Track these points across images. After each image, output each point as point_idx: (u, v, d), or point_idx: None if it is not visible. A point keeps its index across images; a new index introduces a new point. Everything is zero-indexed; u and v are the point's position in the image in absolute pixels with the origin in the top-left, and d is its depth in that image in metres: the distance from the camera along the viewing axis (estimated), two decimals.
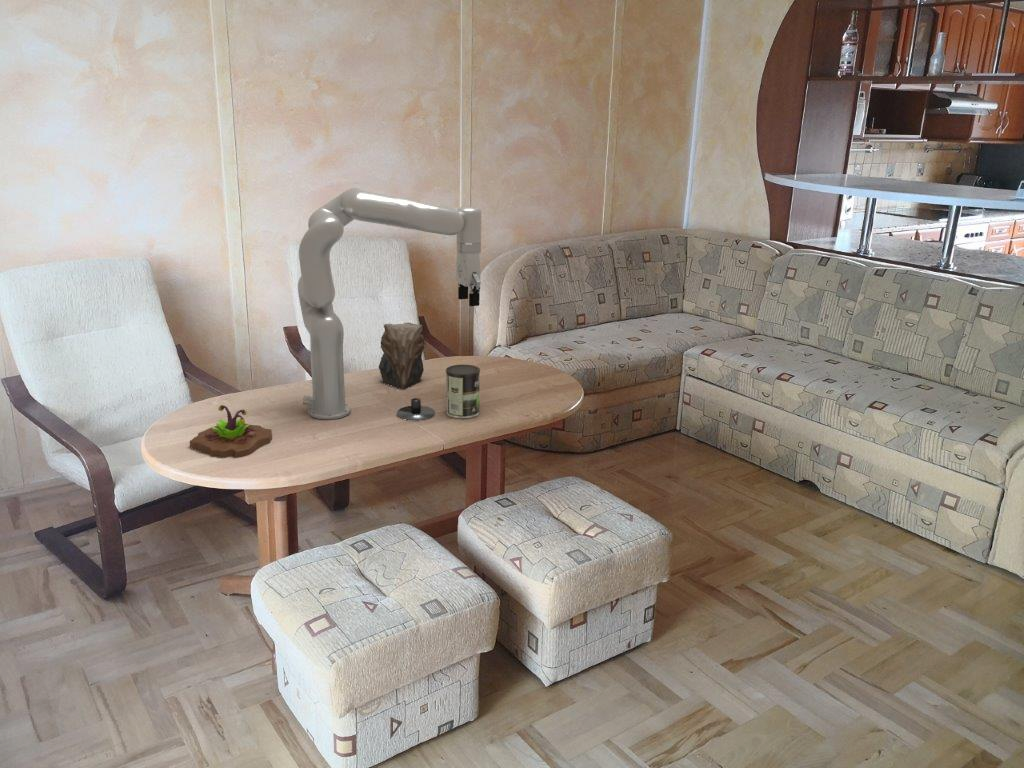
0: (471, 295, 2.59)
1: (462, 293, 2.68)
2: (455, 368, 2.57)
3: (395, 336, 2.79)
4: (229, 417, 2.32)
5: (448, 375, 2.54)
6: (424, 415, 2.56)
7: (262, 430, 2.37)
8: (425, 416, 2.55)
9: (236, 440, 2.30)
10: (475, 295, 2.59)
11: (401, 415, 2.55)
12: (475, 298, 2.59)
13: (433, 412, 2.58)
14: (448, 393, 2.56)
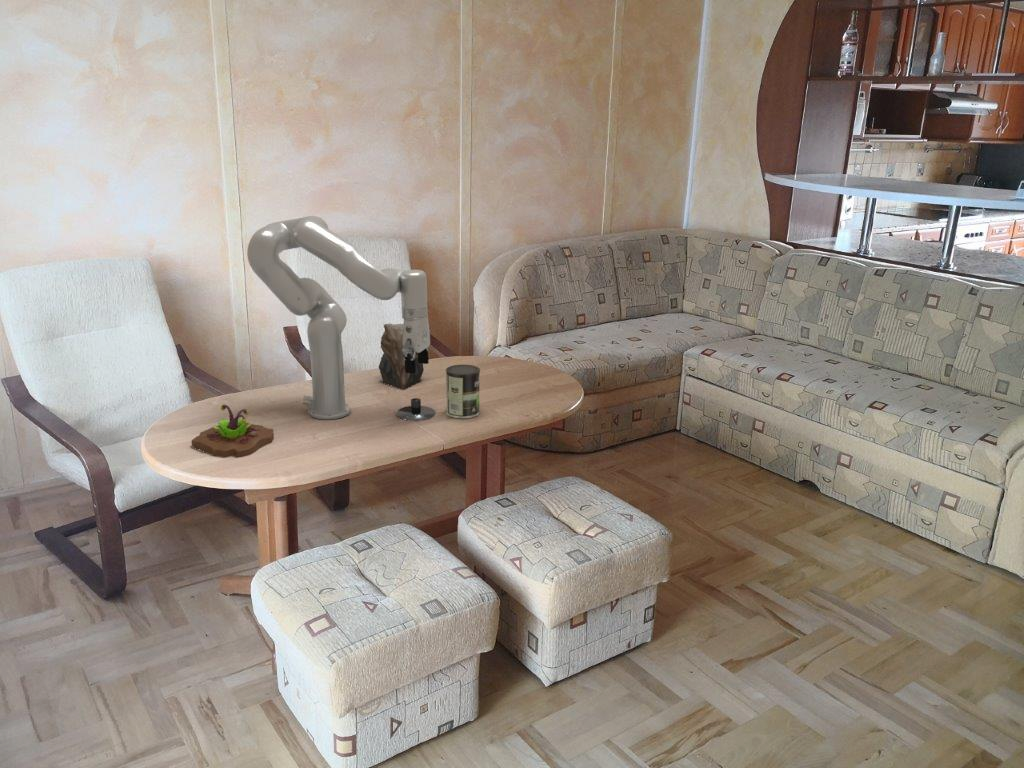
0: None
1: None
2: (455, 368, 2.57)
3: (395, 336, 2.79)
4: (231, 417, 2.32)
5: (448, 375, 2.54)
6: (424, 415, 2.56)
7: (264, 430, 2.37)
8: (425, 416, 2.55)
9: (238, 440, 2.30)
10: None
11: (401, 415, 2.55)
12: None
13: (433, 412, 2.58)
14: (448, 393, 2.56)
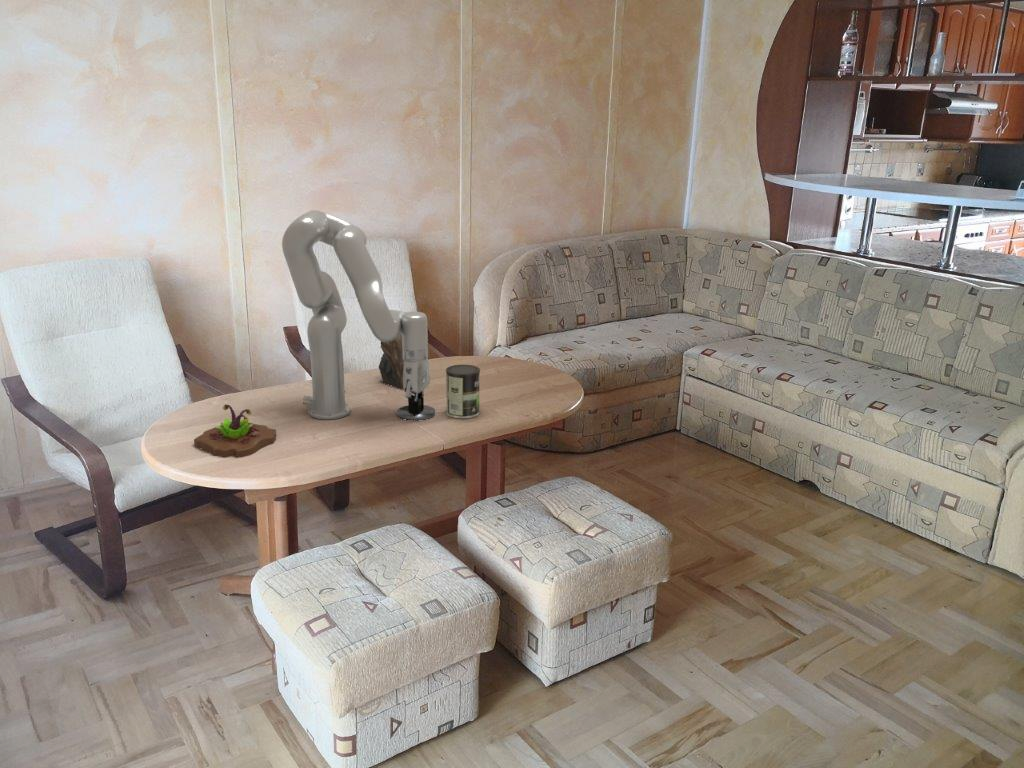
0: None
1: None
2: (455, 368, 2.57)
3: None
4: (233, 416, 2.32)
5: (448, 375, 2.54)
6: (424, 414, 2.55)
7: (266, 430, 2.37)
8: (425, 415, 2.55)
9: (239, 440, 2.30)
10: None
11: (401, 414, 2.55)
12: None
13: (433, 411, 2.58)
14: (448, 393, 2.56)
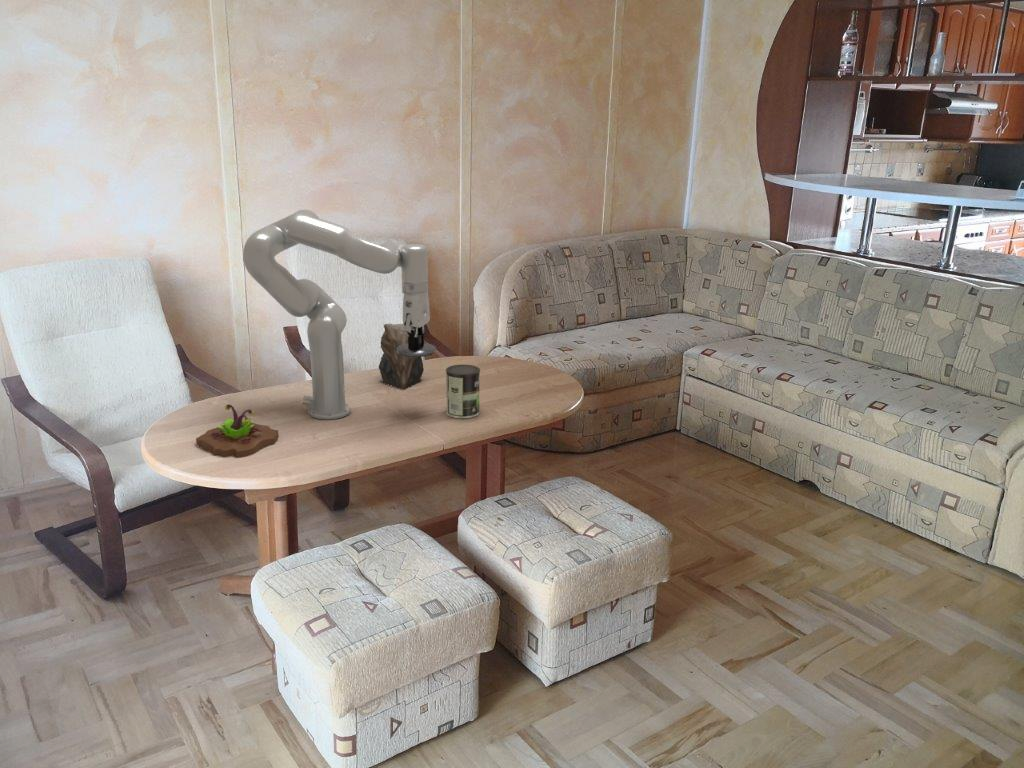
0: None
1: None
2: (455, 368, 2.57)
3: (395, 336, 2.79)
4: (235, 416, 2.32)
5: (448, 375, 2.54)
6: (424, 351, 2.49)
7: (268, 431, 2.37)
8: (426, 351, 2.49)
9: (240, 440, 2.30)
10: None
11: (401, 350, 2.49)
12: None
13: (434, 348, 2.52)
14: (448, 393, 2.56)
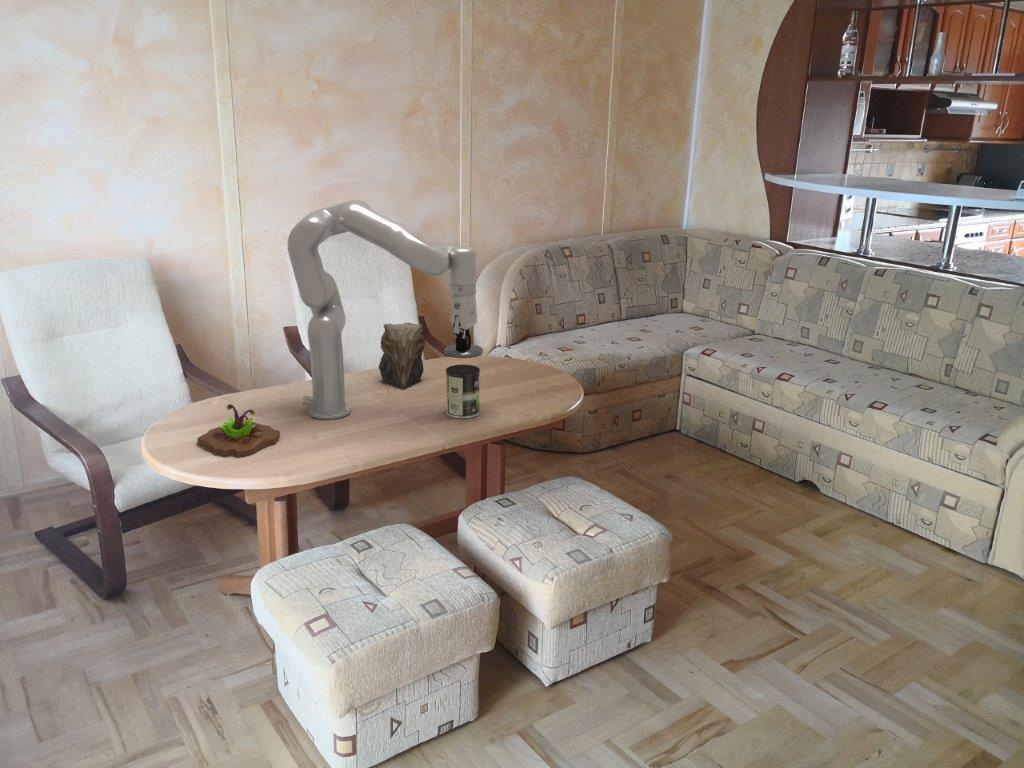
0: None
1: None
2: (455, 368, 2.57)
3: (395, 336, 2.79)
4: (236, 416, 2.32)
5: (448, 375, 2.54)
6: (472, 352, 2.51)
7: (269, 431, 2.37)
8: (473, 352, 2.51)
9: (240, 440, 2.30)
10: None
11: (449, 351, 2.51)
12: None
13: (481, 349, 2.54)
14: (448, 393, 2.56)
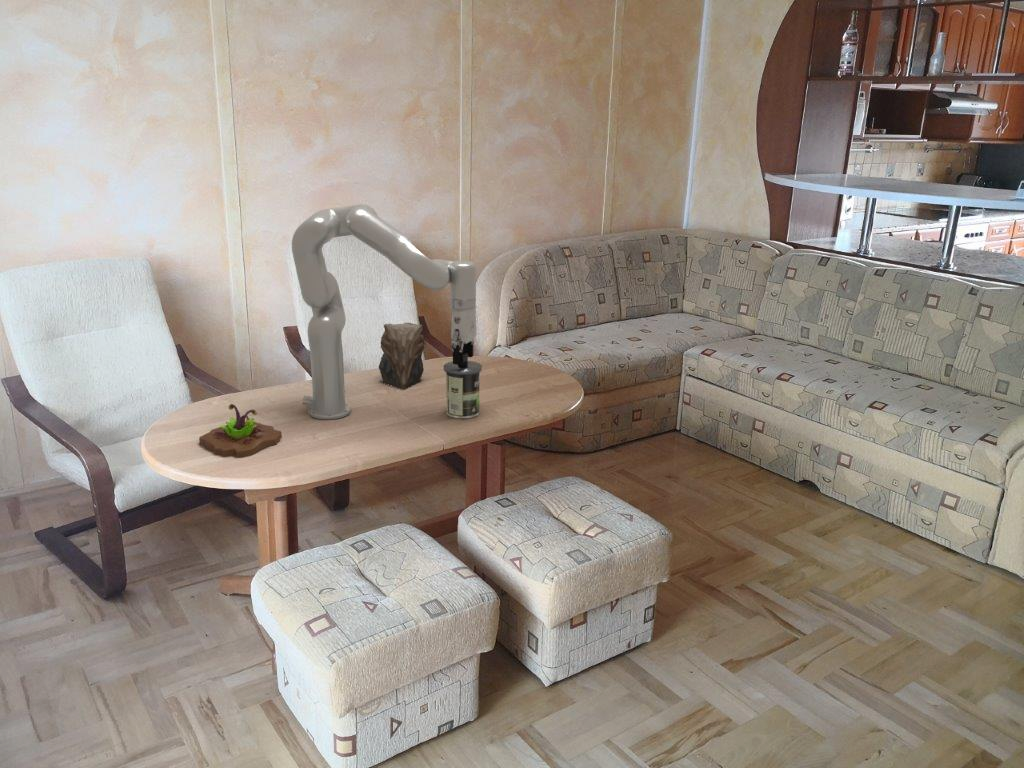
0: None
1: None
2: None
3: (395, 336, 2.79)
4: (237, 416, 2.32)
5: (448, 375, 2.54)
6: (471, 369, 2.53)
7: (271, 431, 2.36)
8: (473, 369, 2.52)
9: (241, 440, 2.30)
10: None
11: (448, 369, 2.53)
12: None
13: (480, 366, 2.56)
14: (448, 393, 2.56)
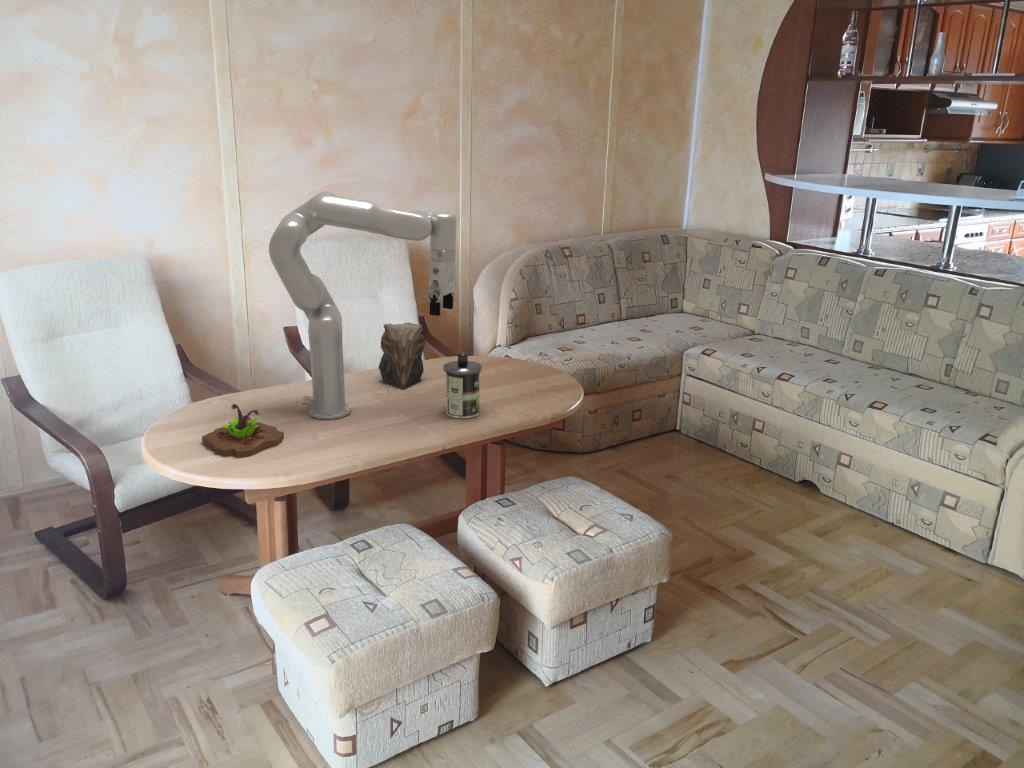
0: None
1: None
2: None
3: (395, 336, 2.79)
4: (239, 416, 2.32)
5: (448, 375, 2.54)
6: (471, 369, 2.53)
7: (273, 432, 2.36)
8: (473, 369, 2.52)
9: (242, 440, 2.30)
10: None
11: (448, 369, 2.53)
12: None
13: (480, 366, 2.56)
14: (448, 393, 2.56)
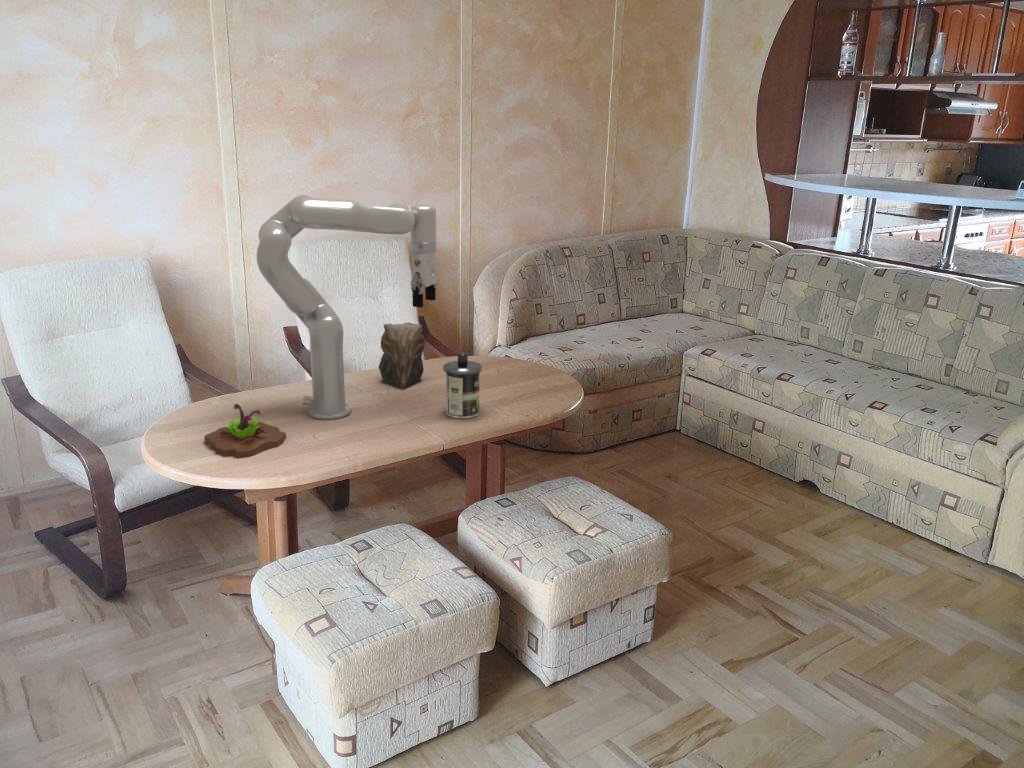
0: None
1: None
2: None
3: (395, 336, 2.79)
4: (241, 416, 2.32)
5: (448, 375, 2.54)
6: (471, 369, 2.53)
7: (275, 433, 2.35)
8: (473, 369, 2.53)
9: (243, 440, 2.30)
10: None
11: (448, 369, 2.53)
12: None
13: (480, 366, 2.56)
14: (448, 393, 2.56)
